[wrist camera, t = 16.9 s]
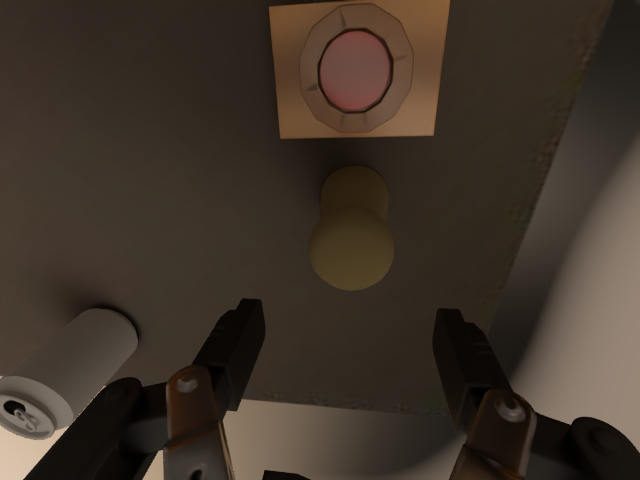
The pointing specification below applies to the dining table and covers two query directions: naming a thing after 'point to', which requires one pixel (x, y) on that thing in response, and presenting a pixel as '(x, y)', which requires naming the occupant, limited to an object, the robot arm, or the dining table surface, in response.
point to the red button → (354, 70)
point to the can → (65, 373)
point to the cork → (352, 230)
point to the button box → (404, 55)
